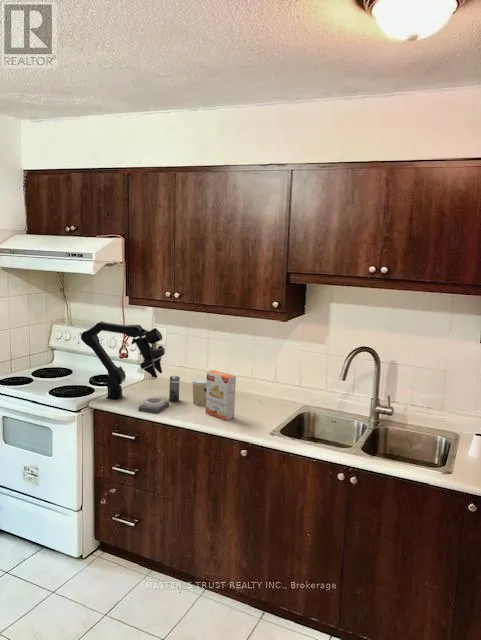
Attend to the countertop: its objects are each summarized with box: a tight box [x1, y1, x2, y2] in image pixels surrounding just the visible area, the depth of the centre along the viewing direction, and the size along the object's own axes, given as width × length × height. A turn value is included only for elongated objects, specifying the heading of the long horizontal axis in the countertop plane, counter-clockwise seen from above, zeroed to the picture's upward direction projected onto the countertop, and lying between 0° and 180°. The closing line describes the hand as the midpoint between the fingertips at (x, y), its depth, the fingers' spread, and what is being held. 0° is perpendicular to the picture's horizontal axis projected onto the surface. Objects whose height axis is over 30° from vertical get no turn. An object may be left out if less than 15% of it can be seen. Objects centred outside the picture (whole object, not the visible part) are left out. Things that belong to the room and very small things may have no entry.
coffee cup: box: [192, 377, 207, 407], centre depth 264 cm, size 9×9×12 cm
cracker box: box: [205, 369, 237, 421], centre depth 246 cm, size 14×6×21 cm, turn 49°
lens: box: [168, 375, 181, 403], centre depth 266 cm, size 5×5×13 cm
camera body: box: [138, 396, 170, 415], centre depth 254 cm, size 10×13×4 cm
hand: (158, 375), depth 263 cm, fingers open, 9 cm apart
